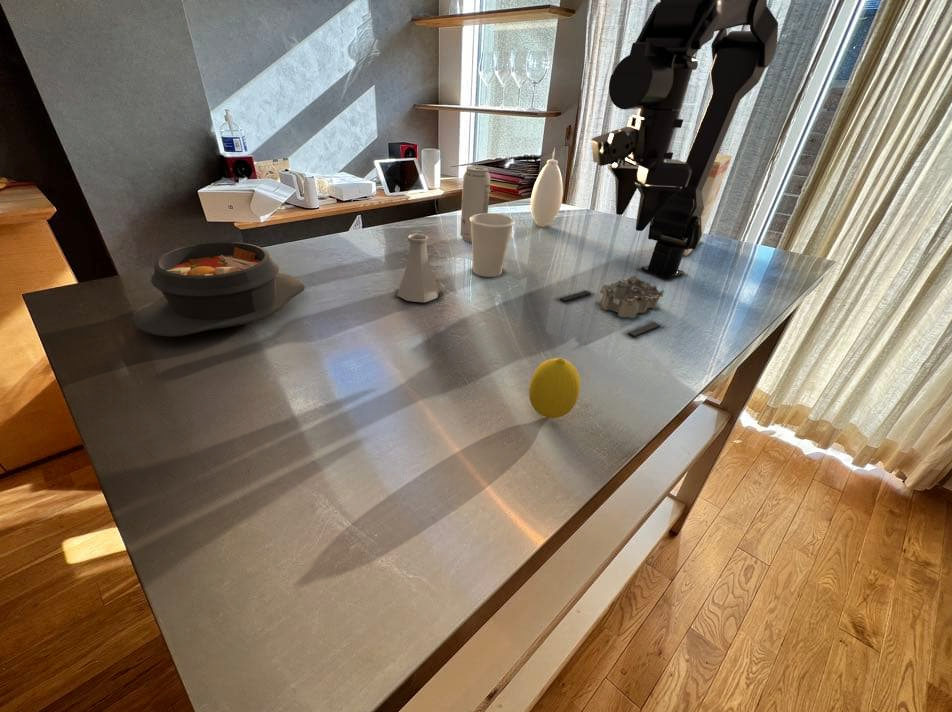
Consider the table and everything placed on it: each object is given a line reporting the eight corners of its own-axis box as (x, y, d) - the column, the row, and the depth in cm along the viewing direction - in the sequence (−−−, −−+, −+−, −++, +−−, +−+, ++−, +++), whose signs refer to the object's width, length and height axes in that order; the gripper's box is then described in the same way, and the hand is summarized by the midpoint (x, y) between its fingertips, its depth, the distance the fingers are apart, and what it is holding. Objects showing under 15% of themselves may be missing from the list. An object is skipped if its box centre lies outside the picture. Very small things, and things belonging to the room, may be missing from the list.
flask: (446, 292, 79) (448, 234, 73) (426, 307, 74) (427, 246, 68) (410, 283, 81) (409, 227, 75) (389, 297, 76) (386, 238, 70)
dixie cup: (486, 282, 83) (492, 228, 77) (457, 269, 88) (460, 216, 82) (516, 273, 88) (524, 221, 82) (487, 261, 93) (492, 210, 87)
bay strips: (585, 292, 82) (586, 290, 82) (659, 326, 72) (660, 325, 72) (559, 299, 79) (559, 298, 79) (633, 337, 69) (634, 335, 69)
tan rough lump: (627, 321, 73) (634, 298, 71) (591, 304, 78) (597, 282, 76) (663, 307, 79) (671, 285, 76) (628, 292, 83) (635, 271, 81)
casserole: (262, 273, 81) (251, 226, 76) (332, 302, 73) (325, 252, 68) (112, 320, 64) (85, 263, 59) (181, 364, 56) (157, 303, 51)
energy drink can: (461, 234, 107) (465, 164, 98) (486, 236, 106) (492, 167, 97) (458, 241, 102) (461, 169, 93) (484, 244, 102) (490, 171, 92)
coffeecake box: (672, 235, 116) (701, 151, 104) (701, 242, 112) (734, 155, 101) (656, 249, 106) (685, 157, 94) (686, 256, 103) (721, 162, 91)
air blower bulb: (526, 228, 114) (538, 148, 103) (528, 220, 120) (538, 144, 109) (557, 231, 113) (571, 151, 102) (556, 223, 119) (570, 146, 108)
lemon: (520, 402, 54) (530, 345, 49) (564, 402, 54) (578, 345, 49) (529, 432, 49) (541, 373, 45) (577, 432, 50) (594, 373, 45)
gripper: (586, 100, 70) (566, 205, 79) (627, 111, 55) (597, 238, 65) (654, 104, 71) (626, 208, 80) (712, 115, 56) (670, 240, 66)
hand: (628, 222), depth 73 cm, fingers open, 9 cm apart
